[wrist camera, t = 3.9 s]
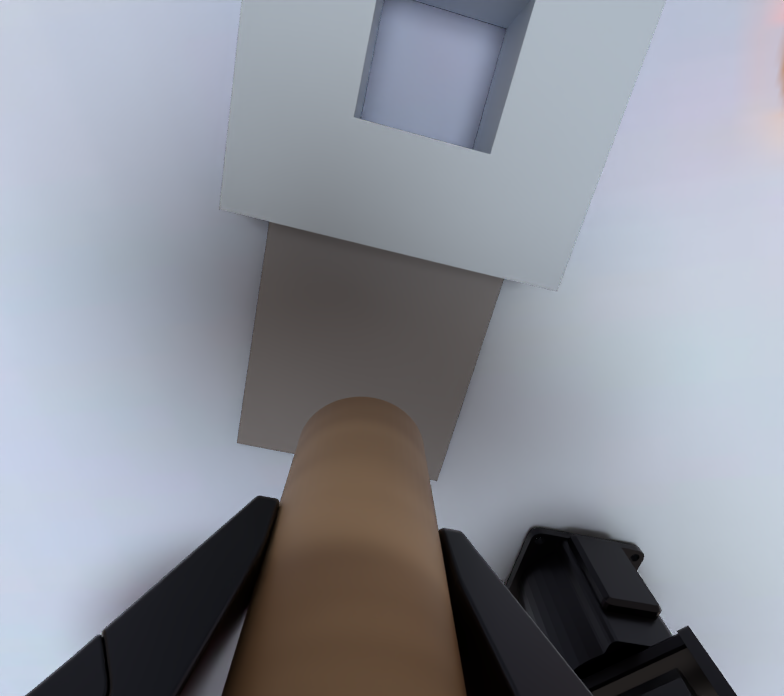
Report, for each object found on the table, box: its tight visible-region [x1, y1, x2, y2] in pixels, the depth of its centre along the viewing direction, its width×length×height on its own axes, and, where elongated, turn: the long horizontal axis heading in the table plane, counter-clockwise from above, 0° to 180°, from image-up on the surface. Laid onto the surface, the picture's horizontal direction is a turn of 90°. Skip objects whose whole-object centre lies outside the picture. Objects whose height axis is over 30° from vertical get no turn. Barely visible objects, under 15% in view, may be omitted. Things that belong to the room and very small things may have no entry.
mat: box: [237, 222, 504, 481], centre depth 20 cm, size 14×10×1 cm
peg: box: [221, 397, 467, 696], centre depth 7 cm, size 3×3×9 cm
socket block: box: [219, 0, 666, 291], centre depth 15 cm, size 12×12×4 cm
